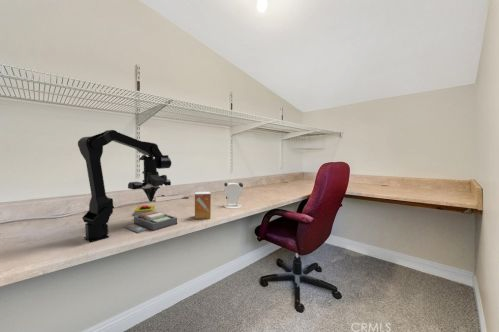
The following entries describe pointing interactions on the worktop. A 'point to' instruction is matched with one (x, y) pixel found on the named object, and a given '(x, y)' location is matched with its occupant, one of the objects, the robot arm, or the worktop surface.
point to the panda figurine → (233, 195)
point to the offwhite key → (154, 216)
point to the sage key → (161, 219)
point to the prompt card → (135, 228)
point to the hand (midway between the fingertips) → (150, 201)
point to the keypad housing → (155, 226)
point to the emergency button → (144, 209)
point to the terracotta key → (147, 214)
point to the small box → (202, 205)
